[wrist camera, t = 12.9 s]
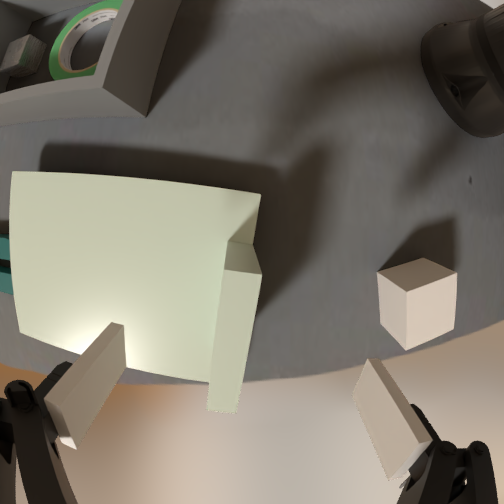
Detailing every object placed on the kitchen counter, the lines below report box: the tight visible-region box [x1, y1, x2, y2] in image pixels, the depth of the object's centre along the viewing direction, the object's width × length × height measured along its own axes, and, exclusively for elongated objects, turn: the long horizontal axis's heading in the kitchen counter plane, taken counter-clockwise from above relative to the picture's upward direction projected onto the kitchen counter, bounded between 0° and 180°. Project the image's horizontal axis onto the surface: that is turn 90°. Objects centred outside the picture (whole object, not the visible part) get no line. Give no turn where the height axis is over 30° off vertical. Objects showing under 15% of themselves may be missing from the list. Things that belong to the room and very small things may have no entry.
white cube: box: [377, 258, 457, 350], centre depth 24 cm, size 6×6×6 cm
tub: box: [0, 0, 182, 127], centre depth 15 cm, size 24×17×9 cm
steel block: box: [0, 34, 47, 78], centre depth 17 cm, size 4×4×4 cm
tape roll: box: [49, 0, 123, 81], centre depth 19 cm, size 11×11×3 cm
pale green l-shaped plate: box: [9, 171, 262, 413], centre depth 20 cm, size 25×18×11 cm
